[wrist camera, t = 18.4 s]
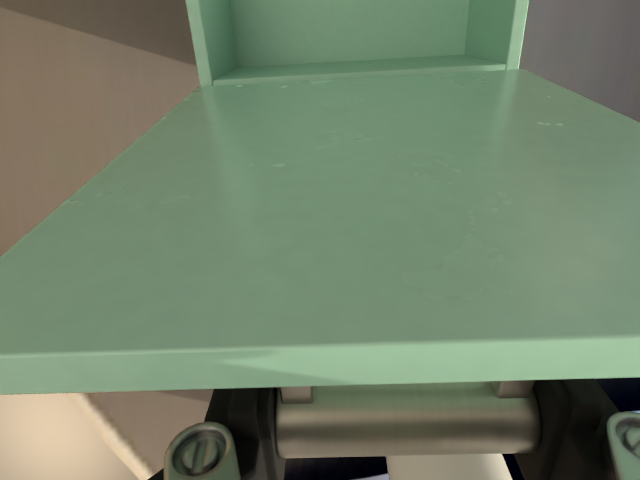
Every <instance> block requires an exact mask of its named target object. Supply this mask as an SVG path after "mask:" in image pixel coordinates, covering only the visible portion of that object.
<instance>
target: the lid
mask: <svg viewBox="0 0 640 480" xmlns="http://www.w3.org/2000/svg"><path fill="white" fill-rule="evenodd" d="M629 377H640V123H639V122H637V121H635V120H633V119H631V118H629V117H626V116H624V115H622V114H620V113H618V112H615V111H613V110H611V109H609V108H607V107H605V106H602V105H600V104H598V103H596V102H594V101H592V100H589V99H587V98H585V97H583V96H581V95H579V94H576V93H574V92H572V91H570V90H568V89H566V88H563V87H561V86H559V85H557V84H555V83H552V82H550V81H548V80H546V79H544V78H542V77H539V76H537V75H535V74H533V73H531V72H529V71H526V70H524V69H513V70H495V71H477V72H459V73H441V74H424V75H406V76H388V77H370V78H352V79H334V80H316V81H299V82H281V83H263V84H245V85H227V86H209V87H197V88H196V89H195V90H194V91H193V92H191V93H190V94H189V95H188V96H187V97H186V98H184V99H183V100H182V101H181V102H180V103H179V104H177V105H176V106H175V107H174V108H173V109H172V110H170V111H169V112H168V113H167V114H166V115H165V116H163V117H162V118H161V119H160V120H159V121H158V122H156V123H155V124H154V125H153V126H152V127H151V128H149V129H148V130H147V131H146V132H145V133H144V134H142V135H141V136H140V137H139V138H138V139H137V140H135V141H134V142H133V143H132V144H131V145H130V146H128V147H127V148H126V149H125V150H124V151H123V152H121V153H120V154H119V155H118V156H117V157H116V158H115V159H113V160H112V161H111V162H110V163H109V164H108V165H106V166H105V167H104V168H103V169H102V170H101V171H99V172H98V173H97V174H96V175H95V176H94V177H92V178H91V179H90V180H89V181H88V182H87V183H85V184H84V185H83V186H82V187H81V188H80V189H78V190H77V191H76V192H75V193H74V194H73V195H71V196H70V197H69V198H68V199H67V200H66V201H64V202H63V203H62V204H61V205H60V206H59V207H57V208H56V209H55V210H54V211H53V212H52V213H50V214H49V215H48V216H47V217H46V218H45V219H43V220H42V221H41V222H40V223H39V224H38V225H36V226H35V227H34V228H33V229H32V230H31V231H29V232H28V233H27V234H26V235H25V236H24V237H22V238H21V239H20V240H19V241H18V242H17V243H15V244H14V245H13V246H12V247H11V248H10V249H8V250H7V251H6V252H5V253H4V254H3V255H2V256H0V395H13V394H49V393H86V392H122V391H158V390H194V389H231V388H267V387H276V392H275V407H274V432H275V445H276V451H277V455H278V457H280V458H315V457H363V456H410V455H458V454H506V453H532V452H534V451H536V450H537V449H538V447H539V445H540V442H541V435H542V422H541V414H540V408H539V403H538V400H537V396H536V393H535V391H534V388H533V386H534V383H535V380H557V379H593V378H629Z"/></svg>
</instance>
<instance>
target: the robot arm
mask: <svg viewBox="0 0 640 480" xmlns="http://www.w3.org/2000/svg"><path fill="white" fill-rule="evenodd" d="M533 388H534V391H535V393H536V396H537V400H538V403H539V408H540V414H541V422H542V435H541V442H540V445H539V447H538V449H537V450H536V451H534V452H532V453H513V454H514V456H515V458H516V461H517V463H518V465H519V467H520V470H521V472H522V474H523V477H524V479H525V480H640V413H636V412H619V411H618V409H617V408H616V407H615V405H614V404H613V403H612V401H611V400H610V399H609V397H608V396H607V395H606V393H605V392H604V391H603V389H602V388H601V387H600V385H599V384H598V383H597V381H596V380H595V379H594V378H593V379H557V380H535V383H534V386H533ZM275 392H276V387H267V388H231V389H214V392H213V395H212V398H211V401H210V404H209V408H208V411H207V414H206V417H205V421H204V422H203V423H197V424H195V425H193V426H190V427H188V428H186V429H185V430H183V431H182V432H181V433H179V434H178V435H177V436H176V437H175V438H174V439H173V441H172V442H171V443H170V445H169V447H168V449H167V450H166V453H165V458H164V468H163V469H162V470H160V471H159V472H158V473H156V474H155V475H154V476H152V477H151V478H149V479H148V480H284V471H285V460H286V458H280V457H278V455H277V451H276V445H275V432H274V407H275ZM386 460H387V467H388V475H389V480H512V478H511V476H510V473H509V471H508V468H507V466H506V463H505V461H504V458H503V456H502V454H458V455H410V456H386Z"/></svg>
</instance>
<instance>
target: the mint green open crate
mask: <svg viewBox="0 0 640 480" xmlns="http://www.w3.org/2000/svg"><path fill="white" fill-rule="evenodd" d="M185 1H186V7H187V13H188V18H189V24H190V30H191V35H192V41H193V47H194V52H195V58H196V64H197V69H198V75H199V81H200V86H201V87H209V86H227V85H245V84H263V83H281V82H299V81H316V80H334V79H352V78H370V77H388V76H406V75H424V74H441V73H459V72H477V71H495V70H513V69H518V68H519V61H520V55H521V48H522V42H523V36H524V29H525V23H526V16H527V10H528V3H529V0H185Z"/></svg>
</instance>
